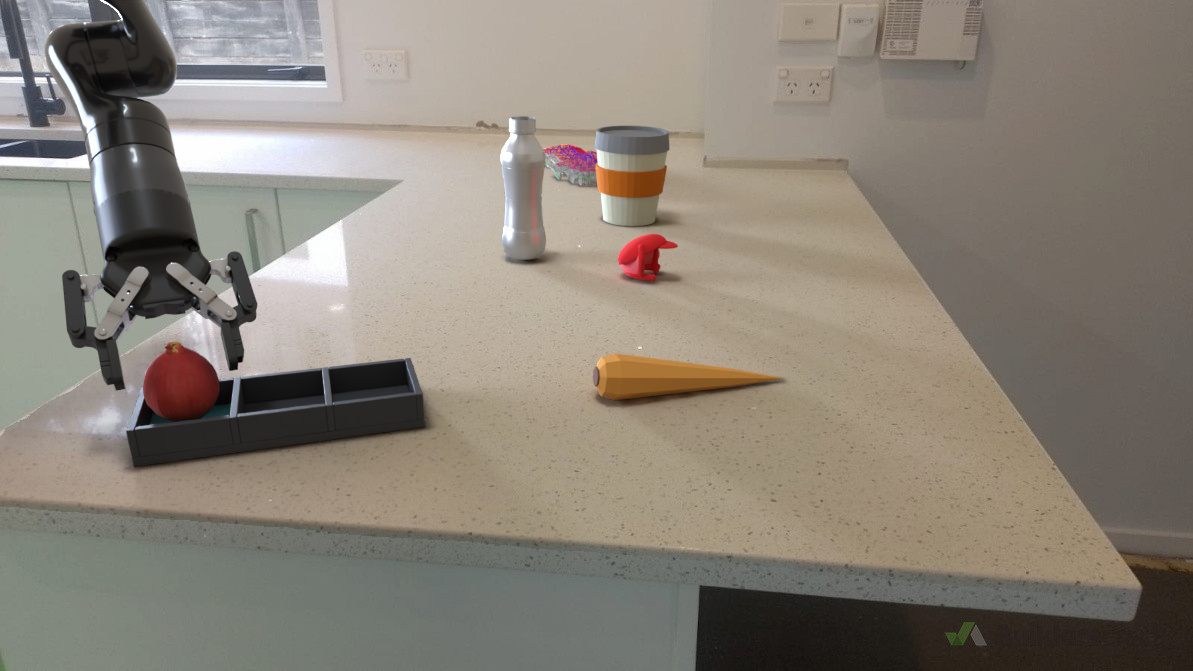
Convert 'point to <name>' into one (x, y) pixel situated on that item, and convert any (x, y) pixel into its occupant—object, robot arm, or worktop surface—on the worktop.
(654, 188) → the reusable coffee cup
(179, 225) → the robot arm
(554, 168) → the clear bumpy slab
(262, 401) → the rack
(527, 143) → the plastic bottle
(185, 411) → the onion
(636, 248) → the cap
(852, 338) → the worktop surface
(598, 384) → the carrot
